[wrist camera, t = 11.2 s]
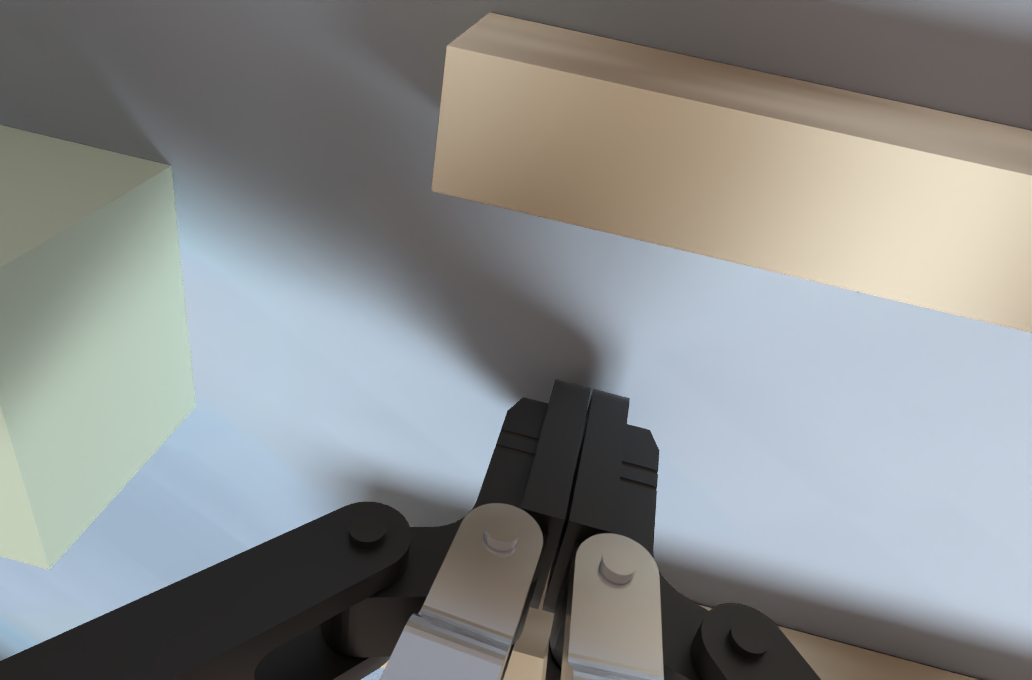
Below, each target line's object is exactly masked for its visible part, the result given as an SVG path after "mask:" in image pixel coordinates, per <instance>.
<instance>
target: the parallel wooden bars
mask: <svg viewBox="0 0 1032 680" xmlns="http://www.w3.org/2000/svg"><path fill="white" fill-rule="evenodd" d="M431 191H434V192H438V193H442V194H446V195H450V196H455V197H459V198H463V199H467V200H472V201H476V202H480V203H484V204H489V205H493V206H497V207H501V208H506V209H510V210H514V211H518V212H522V213H527V214H531V215H535V216H539V217H544V218H548V219H552V220H556V221H561V222H565V223H569V224H573V225H578V226H582V227H586V228H590V229H594V230H599V231H603V232H607V233H611V234H616V235H620V236H624V237H628V238H633V239H637V240H641V241H645V242H650V243H654V244H658V245H662V246H666V247H671V248H675V249H679V250H683V251H688V252H692V253H696V254H700V255H705V256H709V257H713V258H717V259H722V260H726V261H730V262H734V263H738V264H743V265H747V266H751V267H755V268H760V269H764V270H768V271H772V272H777V273H781V274H785V275H789V276H794V277H798V278H802V279H806V280H810V281H815V282H819V283H823V284H827V285H832V286H836V287H840V288H844V289H849V290H853V291H857V292H861V293H866V294H870V295H874V296H878V297H882V298H887V299H891V300H895V301H899V302H904V303H908V304H912V305H916V306H921V307H925V308H929V309H933V310H938V311H942V312H946V313H950V314H954V315H959V316H963V317H967V318H971V319H976V320H980V321H984V322H988V323H993V324H997V325H1001V326H1005V327H1010V328H1014V329H1018V330H1022V331H1026V332H1031V333H1032V131H1030V130H1026V129H1021V128H1016V127H1012V126H1007V125H1003V124H998V123H994V122H989V121H984V120H980V119H975V118H971V117H966V116H962V115H957V114H952V113H948V112H943V111H939V110H934V109H929V108H925V107H920V106H916V105H911V104H907V103H902V102H897V101H893V100H888V99H884V98H879V97H875V96H870V95H865V94H861V93H856V92H852V91H847V90H843V89H838V88H833V87H829V86H824V85H820V84H815V83H811V82H806V81H801V80H797V79H792V78H788V77H783V76H779V75H774V74H769V73H765V72H760V71H756V70H751V69H746V68H742V67H737V66H733V65H728V64H724V63H719V62H714V61H710V60H705V59H701V58H696V57H692V56H687V55H682V54H678V53H673V52H669V51H664V50H660V49H655V48H650V47H646V46H641V45H637V44H632V43H628V42H623V41H618V40H614V39H609V38H605V37H600V36H596V35H591V34H586V33H582V32H577V31H573V30H568V29H564V28H559V27H554V26H550V25H545V24H541V23H536V22H531V21H527V20H522V19H518V18H513V17H509V16H504V15H499V14H495V13H490V12H489V13H488V14H487V15H485V16H484V17H483V18H482V19H480V20H479V21H478V22H476V23H475V24H474V25H473V26H471V27H470V28H469V29H467V30H466V31H465V32H464V33H462V34H461V35H460V36H458V37H457V38H456V39H455V40H453V41H452V42H451V43H450V44H448V45H447V49H446V58H445V67H444V76H443V86H442V95H441V104H440V114H439V123H438V132H437V142H436V151H435V160H434V170H433V179H432V188H431ZM550 569H551V568H550ZM549 574H550V571H549ZM548 578H549V575H548ZM548 578H547V582H546V585H545V588H544V592H543V595H542V598H541V602H540V605H539V608H538V609H535V608H532V607H530V608H529V611H528V615H527V618H526V622H525V626H524V629H523V632H522V634H521V636H520V638H519V639H518V640H517V641H516V643H515V647H514V650H513V653H512V656H511V659H510V662H509V666H508V669H507V672H506V675H505V678H504V680H542V670H543V661H544V654H545V649H546V646H547V643H548V640H549V637H550V634H551V629H552V623H553V618H554V613H551V612H547V611H543V610H542V608H543V603H544V598H545V593H546V588H547V583H548ZM700 606H701V607H703V608H705V609H707V610H708V611H709V610H711V609H712V608H709V607H706V606H702V605H700ZM778 627H779V629H780V630H781V631H782V632H783V633H784V635H785V636H786V637H787V638H788V640H789V641H790V642H791V643H792V644H793V646H794V647H795V648H796V649H797V651H798V652H799V653H800V654H801V655H802V657H803V658H804V659H805V660H806V662H807V663H808V664H809V665H810V666H811V668H812V669H813V670H814V671H815V673H816V674H817V675H818V676H819V677H820V679H821V680H979V679H975V678H971V677H967V676H964V675H960V674H956V673H952V672H949V671H945V670H941V669H937V668H934V667H930V666H926V665H923V664H919V663H915V662H911V661H908V660H904V659H900V658H896V657H893V656H889V655H885V654H881V653H878V652H874V651H870V650H866V649H863V648H859V647H855V646H851V645H848V644H844V643H840V642H837V641H833V640H829V639H825V638H822V637H818V636H814V635H810V634H807V633H803V632H799V631H795V630H792V629H788V628H784V627H780V626H778ZM388 661H389V660H388ZM388 661H387V662H386V663H385V664H384V665H383V666H381V668H385V667H386V665H387V663H388Z"/></svg>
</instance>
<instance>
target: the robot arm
mask: <svg viewBox="0 0 1032 680" xmlns="http://www.w3.org/2000/svg"><path fill="white" fill-rule="evenodd" d="M590 390H591V388H587V387H583V386H579V385H575V384H571V383H568V382H564V381H560V380H555V383H554V387H553V391H552V394H551V398H550V402H549V404H547V403H543V402H539V401H535V400H532V399H528V398H524V397H523V398H522V399H521V400H520V401H519V402H517V403H516V404H515V405H514V406H513V407H512V408H510V409H509V410H508V411H507V414H506V417H505V420H504V423H503V426H502V429H501V433H500V435H499V438H498V441H497V444H496V447H495V449H494V452H493V455H492V458H491V461H490V464H489V467H488V470H487V473H486V476H485V479H484V482H483V484H482V487H481V490H480V493H479V496H478V499H477V502H476V504H475V506H474V507H473V509H472V510H471V511H470V512H469V513H468V514H467V515H466V516H465V517H464V518H462V519H461V520H459V521H457V522H455V523H452V524H449V525H445V526H440V527H409V524H408V522H407V521H406V519H405V518H404V516H403V515H402V514H401V513H400V512H398V511H397V510H395V509H394V508H392V507H390V506H388V505H385V504H382V503H377V502H358V503H353V504H350V505H347V506H345V507H342V508H340V509H338V510H336V511H333V512H331V513H329V514H327V515H324V516H322V517H320V518H318V519H316V520H313V521H311V522H309V523H307V524H304V525H302V526H300V527H298V528H296V529H293V530H291V531H289V532H287V533H284V534H282V535H280V536H278V537H276V538H273V539H271V540H269V541H267V542H264V543H262V544H260V545H258V546H256V547H253V548H251V549H249V550H247V551H244V552H242V553H240V554H238V555H235V556H233V557H231V558H229V559H227V560H224V561H222V562H220V563H218V564H215V565H213V566H211V567H209V568H207V569H204V570H202V571H200V572H198V573H195V574H193V575H191V576H189V577H187V578H184V579H182V580H180V581H178V582H175V583H173V584H171V585H169V586H167V587H164V588H162V589H160V590H158V591H155V592H153V593H151V594H149V595H146V596H144V597H142V598H140V599H138V600H135V601H133V602H131V603H129V604H126V605H124V606H122V607H120V608H118V609H115V610H113V611H111V612H109V613H106V614H104V615H102V616H100V617H98V618H95V619H93V620H91V621H89V622H86V623H84V624H82V625H80V626H78V627H75V628H73V629H71V630H69V631H66V632H64V633H62V634H60V635H57V636H55V637H53V638H51V639H49V640H46V641H44V642H42V643H40V644H37V645H35V646H33V647H31V648H29V649H26V650H24V651H22V652H20V653H17V654H15V655H13V656H11V657H9V658H6V659H4V660H2V661H0V680H361V679H362V678H364V677H365V676H367V675H369V674H370V673H372V672H374V671H375V670H377V669H378V668H380V667H381V666H383V665H384V664H385V663H386V662H387V661H388V660H389V661H388V663H387V665H386V667H385V669H384V671H383V674H382V676H381V678H380V680H504V678H505V675H506V672H507V669H508V666H509V662H510V659H511V656H512V653H513V650H514V647H515V643H516V641H517V640H518V639H519V638H520V636H521V634H522V632H523V629H524V626H525V622H526V618H527V615H528V611H529V608H530V607H532V608H535V609H538V608H539V605H540V602H541V598H542V595H543V592H544V588H545V585H546V582H547V578H548V575H549V578H548V583H547V588H546V593H545V598H544V603H543V608H542V610H543V611H547V612H551V613H554V618H553V623H552V629H551V634H550V637H549V640H548V643H547V646H546V649H545V654H544V661H543V670H542V680H821V679H820V677H819V676H818V675H817V674H816V673H815V671H814V670H813V669H812V668H811V666H810V665H809V664H808V663H807V662H806V660H805V659H804V658H803V657H802V655H801V654H800V653H799V652H798V651H797V649H796V648H795V647H794V646H793V644H792V643H791V642H790V641H789V640H788V638H787V637H786V636H785V635H784V633H783V632H782V631H781V630H780V629H779V627H778V626H777V625H776V624H775V623H774V622H773V621H772V620H771V619H769V618H768V617H767V616H765V615H764V614H763V613H761V612H759V611H757V610H755V609H754V608H751V607H748V606H746V605H742V604H736V603H725V604H720V605H717V606H715V607H713V608H712V609H711V610H709V611H708V610H707V609H705V608H703V607H701V606H700V605H698V604H696V603H695V602H693V601H691V600H689V599H688V598H686V597H684V596H683V595H681V594H680V593H678V592H677V591H676V590H675V589H674V588H672V587H671V586H670V585H669V584H668V582H667V581H666V580H665V579H664V578H663V576H662V575H661V573H660V572H659V570H658V567H657V564H656V562H655V560H654V555H653V543H654V527H655V511H656V494H657V491H656V488H657V478H658V474H657V472H658V462H659V449H658V447H657V445H656V443H655V440H654V438H653V436H652V434H651V432H650V430H647V429H643V428H640V427H636V426H632V425H628V424H627V417H628V409H629V398H626V397H622V396H619V395H615V394H611V393H607V392H603V391H599V390H595V389H594V390H593V392H592V395H591V399H590V402H589V406H588V409H587V405H588V400H589V395H590ZM586 411H587V413H586ZM550 568H551V569H550ZM549 571H550V574H549Z"/></svg>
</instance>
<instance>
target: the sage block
mask: <svg viewBox="0 0 1032 680" xmlns="http://www.w3.org/2000/svg"><path fill="white" fill-rule="evenodd" d="M195 407H196V399H195V390H194V380H193V370H192V361H191V351H190V341H189V331H188V322H187V312H186V302H185V293H184V283H183V273H182V264H181V254H180V244H179V235H178V225H177V215H176V205H175V196H174V186H173V176H172V167H171V165H166V164H162V163H158V162H154V161H150V160H145V159H141V158H137V157H133V156H129V155H124V154H120V153H116V152H112V151H108V150H104V149H99V148H95V147H91V146H87V145H83V144H78V143H74V142H70V141H66V140H62V139H58V138H53V137H49V136H45V135H41V134H37V133H32V132H28V131H24V130H20V129H16V128H12V127H7V126H3V125H0V556H2V557H6V558H9V559H13V560H16V561H20V562H23V563H27V564H30V565H34V566H37V567H41V568H45V569H48V570H50V569H51V568H52V567H53V566H54V564H55V563H56V562H57V561H58V560H59V559H60V558H61V557H62V556H63V554H64V553H65V552H66V551H67V550H68V549H69V548H70V547H71V545H72V544H73V543H74V542H75V541H76V540H77V539H78V538H79V537H80V535H81V534H82V533H83V532H84V531H85V530H86V529H87V528H88V527H89V525H90V524H91V523H92V522H93V521H94V520H95V519H96V518H97V517H98V515H99V514H100V513H101V512H102V511H103V510H104V509H105V508H106V506H107V505H108V504H109V503H110V502H111V501H112V500H113V499H114V498H115V496H116V495H117V494H118V493H119V492H120V491H121V490H122V489H123V488H124V486H125V485H126V484H127V483H128V482H129V481H130V480H131V479H132V477H133V476H134V475H135V474H136V473H137V472H138V471H139V470H140V469H141V467H142V466H143V465H144V464H145V463H146V462H147V461H148V460H149V459H150V457H151V456H152V455H153V454H154V453H155V452H156V451H157V450H158V449H159V447H160V446H161V445H162V444H163V443H164V442H165V441H166V440H167V438H168V437H169V436H170V435H171V434H172V433H173V432H174V431H175V430H176V428H177V427H178V426H179V425H180V424H181V423H182V422H183V421H184V420H185V418H186V417H187V416H188V415H189V414H190V413H191V412H192V411H193V409H194V408H195Z"/></svg>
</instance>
